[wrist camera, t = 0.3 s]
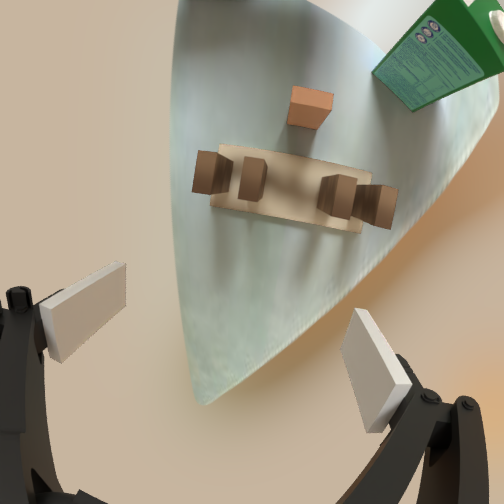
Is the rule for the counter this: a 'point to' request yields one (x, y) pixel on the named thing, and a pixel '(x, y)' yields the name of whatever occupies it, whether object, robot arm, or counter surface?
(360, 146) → the counter surface
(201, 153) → the domino
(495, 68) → the milk carton
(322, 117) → the rust tile
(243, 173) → the domino
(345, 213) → the domino
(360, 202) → the domino
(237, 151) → the birch board
